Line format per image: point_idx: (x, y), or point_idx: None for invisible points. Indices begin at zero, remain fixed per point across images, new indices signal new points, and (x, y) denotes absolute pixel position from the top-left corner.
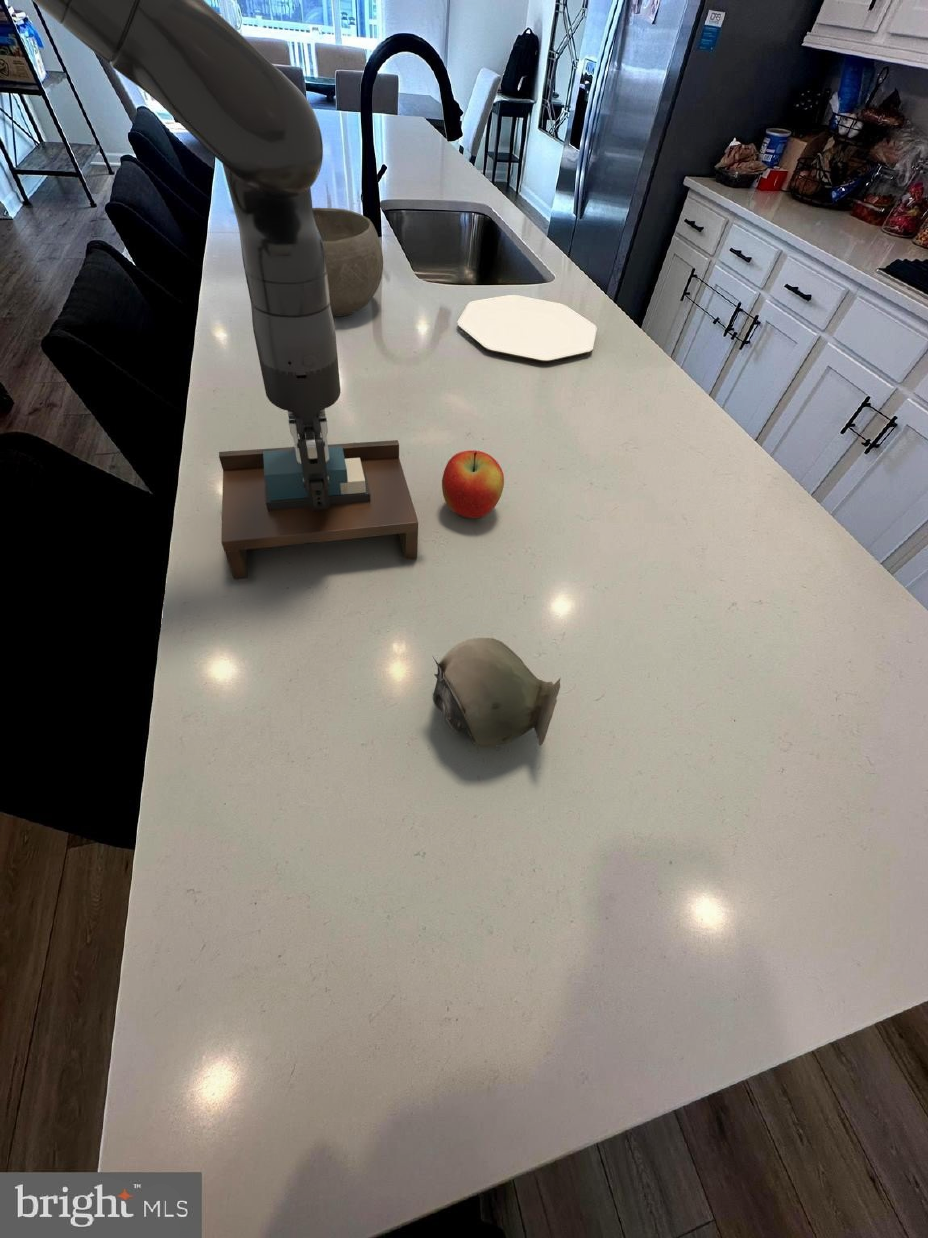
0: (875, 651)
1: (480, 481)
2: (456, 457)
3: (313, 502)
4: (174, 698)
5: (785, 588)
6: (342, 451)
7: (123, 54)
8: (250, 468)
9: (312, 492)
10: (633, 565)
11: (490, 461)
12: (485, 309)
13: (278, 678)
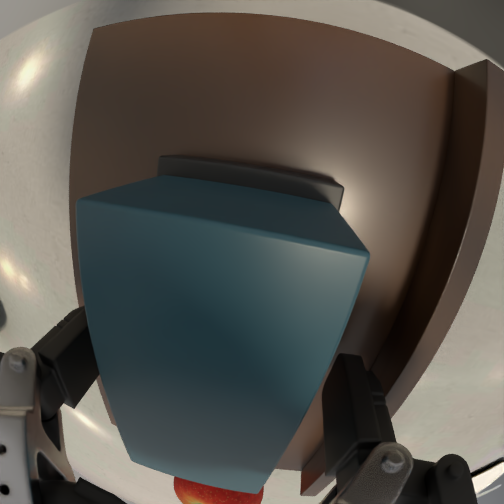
0: (81, 471)
1: (179, 497)
2: None
3: (61, 322)
4: (24, 33)
5: (116, 484)
6: (225, 488)
7: None
8: (444, 156)
9: (36, 345)
10: (132, 468)
11: None
12: (496, 472)
13: (5, 139)
